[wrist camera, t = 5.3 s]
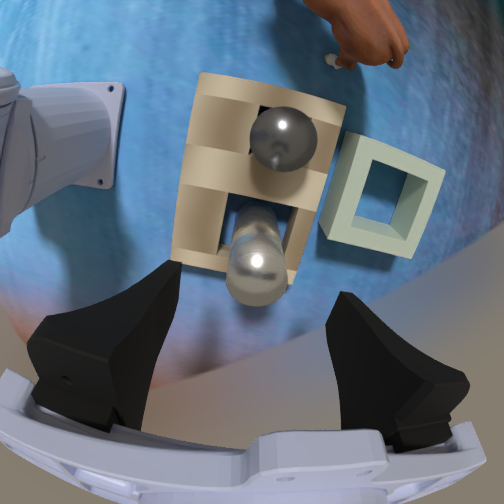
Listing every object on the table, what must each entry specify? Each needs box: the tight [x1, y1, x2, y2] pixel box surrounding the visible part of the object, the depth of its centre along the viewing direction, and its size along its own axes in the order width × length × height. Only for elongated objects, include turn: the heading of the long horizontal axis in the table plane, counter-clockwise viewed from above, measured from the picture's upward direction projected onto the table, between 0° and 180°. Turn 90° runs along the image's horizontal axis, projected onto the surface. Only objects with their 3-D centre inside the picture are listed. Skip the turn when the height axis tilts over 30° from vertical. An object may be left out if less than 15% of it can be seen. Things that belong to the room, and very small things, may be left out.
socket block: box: [170, 72, 346, 285], centre depth 19 cm, size 9×13×2 cm
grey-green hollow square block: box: [318, 131, 446, 259], centre depth 19 cm, size 7×7×3 cm
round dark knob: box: [249, 106, 318, 172], centre depth 16 cm, size 4×4×4 cm
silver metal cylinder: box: [226, 201, 288, 307], centre depth 18 cm, size 3×3×8 cm
